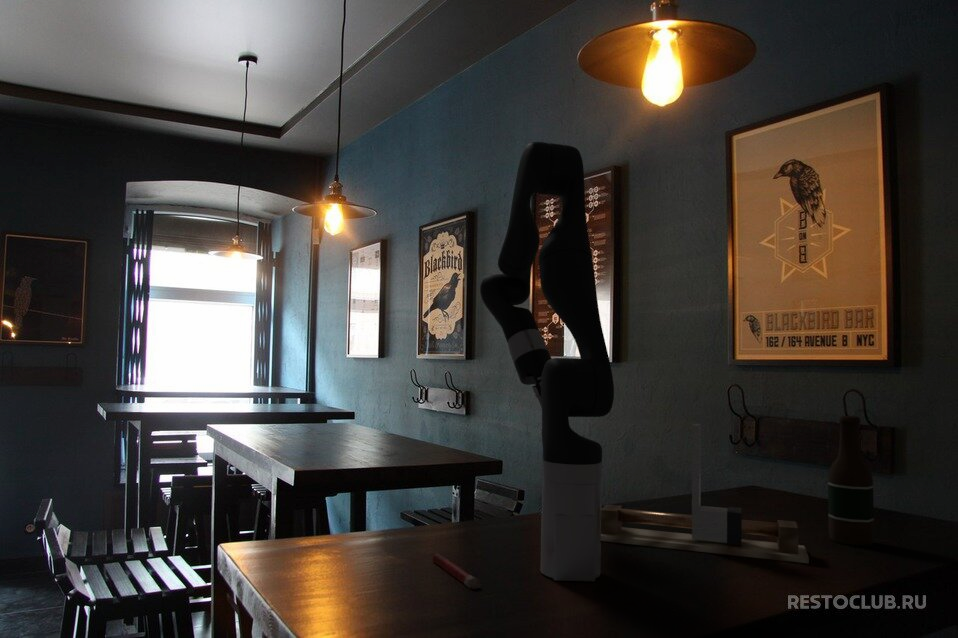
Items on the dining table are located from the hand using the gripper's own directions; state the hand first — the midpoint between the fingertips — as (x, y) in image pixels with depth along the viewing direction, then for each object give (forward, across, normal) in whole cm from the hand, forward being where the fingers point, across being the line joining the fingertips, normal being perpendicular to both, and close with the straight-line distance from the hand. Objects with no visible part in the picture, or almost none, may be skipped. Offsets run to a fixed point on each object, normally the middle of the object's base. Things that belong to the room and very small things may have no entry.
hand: (561, 434), depth 136 cm
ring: (+28, +5, -22) cm, 36 cm away
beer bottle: (+34, +19, -45) cm, 60 cm away
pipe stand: (+26, +7, -16) cm, 31 cm away
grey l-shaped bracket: (+26, +6, -19) cm, 33 cm away
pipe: (+24, +6, -17) cm, 30 cm away
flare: (+21, -22, +23) cm, 39 cm away
